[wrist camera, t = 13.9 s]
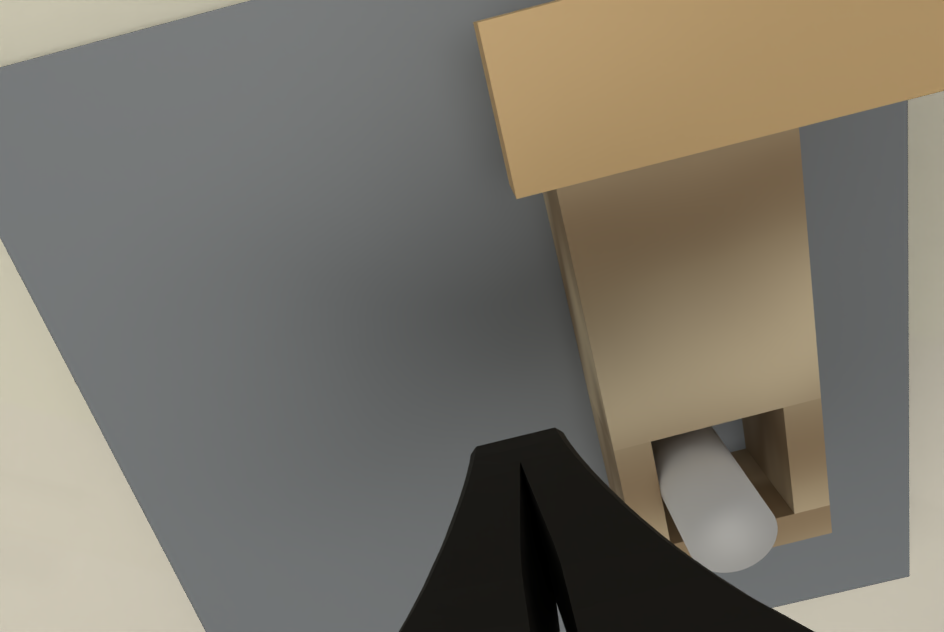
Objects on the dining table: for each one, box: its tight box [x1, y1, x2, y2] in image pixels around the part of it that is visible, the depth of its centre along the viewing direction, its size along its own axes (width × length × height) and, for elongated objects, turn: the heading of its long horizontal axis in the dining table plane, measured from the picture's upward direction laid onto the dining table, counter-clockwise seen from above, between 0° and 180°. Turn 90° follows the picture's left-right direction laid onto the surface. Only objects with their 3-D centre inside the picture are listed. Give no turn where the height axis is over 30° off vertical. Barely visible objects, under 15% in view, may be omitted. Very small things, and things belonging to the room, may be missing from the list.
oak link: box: [543, 128, 832, 557], centre depth 17 cm, size 14×5×3 cm, turn 15°
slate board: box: [0, 0, 944, 632], centre depth 18 cm, size 22×21×6 cm
